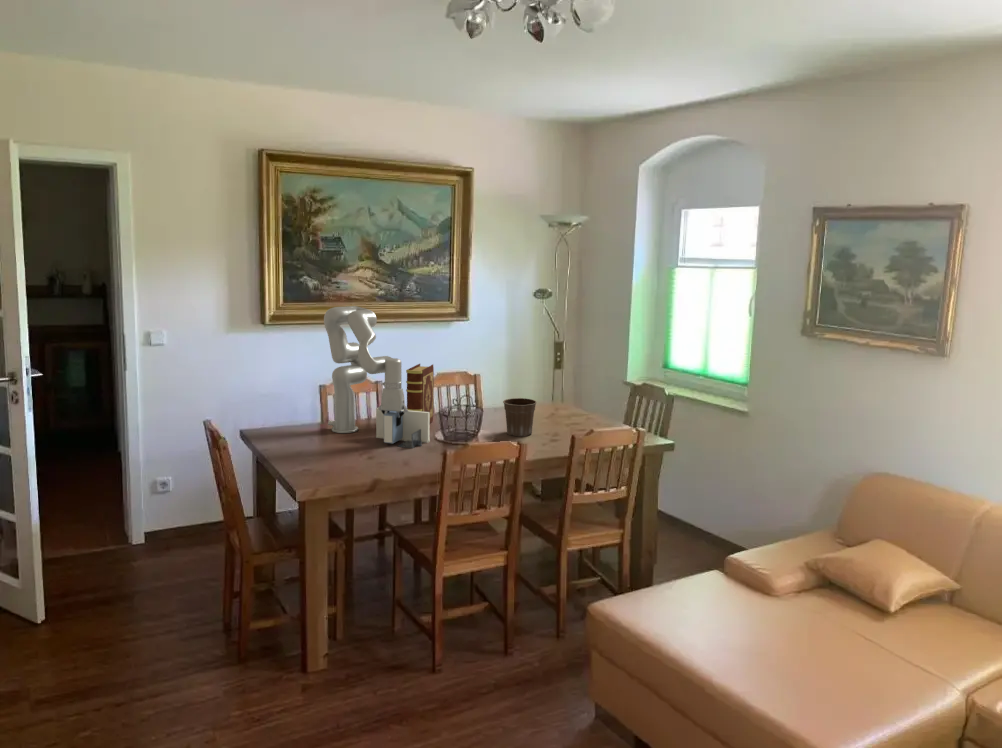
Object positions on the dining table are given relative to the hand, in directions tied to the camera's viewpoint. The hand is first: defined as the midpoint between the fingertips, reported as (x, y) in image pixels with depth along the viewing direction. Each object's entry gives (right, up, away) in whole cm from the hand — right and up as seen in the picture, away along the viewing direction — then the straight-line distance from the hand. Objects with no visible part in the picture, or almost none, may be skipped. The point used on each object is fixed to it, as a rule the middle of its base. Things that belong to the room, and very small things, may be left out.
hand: (393, 424), depth 352 cm
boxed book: (0, -7, +1) cm, 7 cm away
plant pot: (+58, -6, +24) cm, 63 cm away
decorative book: (+8, -3, +36) cm, 37 cm away
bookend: (+9, -9, -1) cm, 13 cm away
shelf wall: (+3, -7, +8) cm, 12 cm away
